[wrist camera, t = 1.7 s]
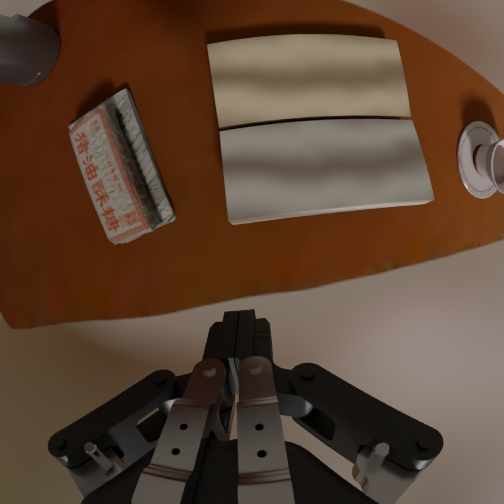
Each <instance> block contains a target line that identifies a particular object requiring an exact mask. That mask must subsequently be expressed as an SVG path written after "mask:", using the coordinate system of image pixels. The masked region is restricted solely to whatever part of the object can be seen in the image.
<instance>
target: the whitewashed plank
mask: <svg viewBox="0 0 504 504" xmlns="http://www.w3.org/2000/svg"><path fill="white" fill-rule="evenodd" d="M220 142H221V152H222V162H223V172H224V182H225V191H226V201H227V210H228V219H229V222H230V223H231V224H232V225H235V224H243V223H250V222H258V221H265V220H273V219H281V218H290V217H298V216H307V215H315V214H324V213H333V212H343V211H352V210H362V209H373V208H383V207H394V206H406V205H418V204H425V203H428V202H430V201H432V200H434V195H433V191H432V187H431V182H430V178H429V174H428V170H427V167H426V163H425V159H424V156H423V152H422V149H421V146H420V143H419V139H418V136H417V133H416V130H415V127H414V125H413V122H412V120H392V119H336V120H315V121H300V122H289V123H278V124H269V125H261V126H253V127H246V128H239V129H232V130H226V131H220Z"/></svg>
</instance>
